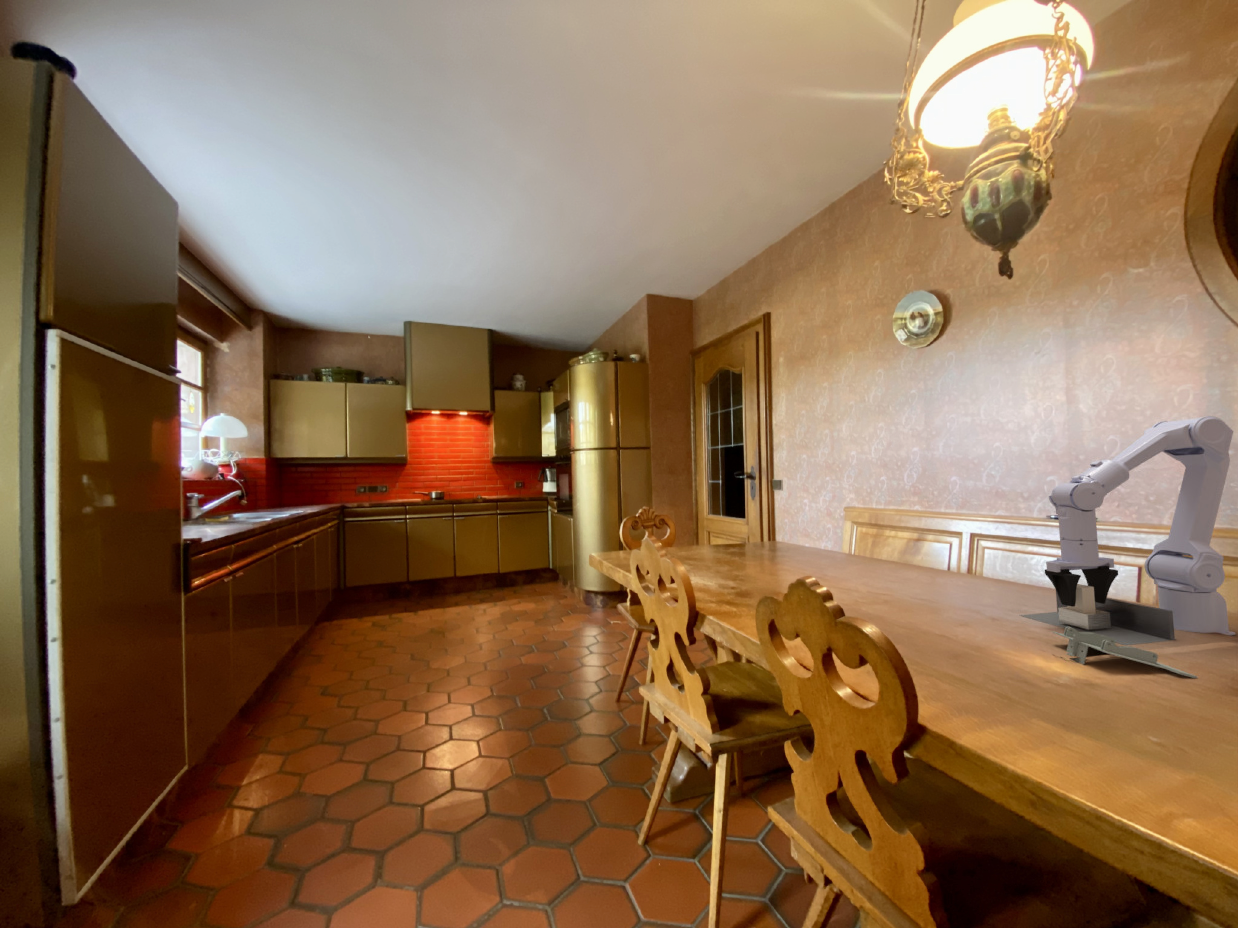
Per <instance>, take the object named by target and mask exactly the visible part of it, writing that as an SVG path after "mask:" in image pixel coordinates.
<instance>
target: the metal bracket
mask: <svg viewBox="0 0 1238 928" xmlns="http://www.w3.org/2000/svg"><path fill="white" fill-rule="evenodd" d="M1051 633H1052V634H1053V633H1054V634H1056V635H1058V636H1061V637H1064V638H1067V639H1068V643H1067V647H1066V655H1067V656H1069V657H1070V658H1069V660H1071V661H1073V662H1075V663H1077V664H1080V665H1083V666H1084V665H1085V662H1086V658H1087V655H1088V650H1089V647H1090V648H1092V649H1094V650H1097V651H1100V652H1102V653H1106V654H1108V655H1112V656H1115V657H1119V658H1123V659H1126V660H1131V661H1134V662H1137V663H1142V664H1145V665H1150V666H1153V667H1157V668H1161V669H1164V670H1167V671H1169V672H1172V673H1176V674H1178V675H1181V676H1185V677H1189V678H1192V679H1198V676H1196V675H1194V674H1191V673H1188V672H1186V671H1184V670H1180V669H1178V668H1175V667H1172V666H1170V665H1167V664H1164V663H1162V662H1159V661H1158V658H1159V656H1158V654H1157V653H1155V652H1152V651H1149V650H1145V649H1142V648H1138V647H1135V646H1132V645H1117V643H1116V641H1115V639H1113V638H1110V637H1107V636H1103V635H1099V634H1095V633H1091V632H1078V631H1077V630H1075V629H1074V628H1072V627H1066V628H1064V631H1063V633H1060V632H1057V631H1054V630H1053V631H1051ZM1075 656H1076V657H1075Z"/></svg>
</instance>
